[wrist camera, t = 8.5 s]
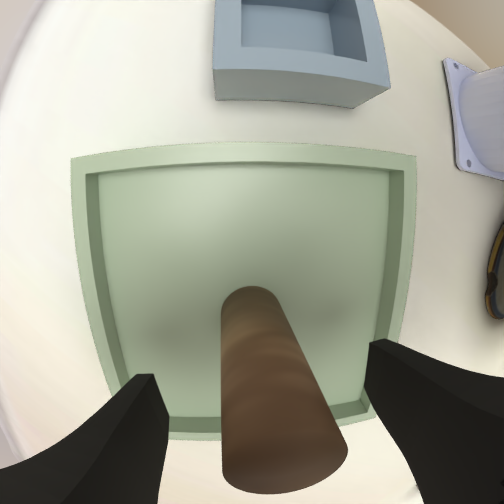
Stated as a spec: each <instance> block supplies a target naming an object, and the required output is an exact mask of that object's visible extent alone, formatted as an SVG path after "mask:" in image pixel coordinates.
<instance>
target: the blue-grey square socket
mask: <svg viewBox="0 0 504 504" xmlns="http://www.w3.org/2000/svg"><path fill="white" fill-rule="evenodd" d="M213 78H214V88H215V98H216V100H273V101H291V102H304V103H315V104H324V105H333V106H340V107H347V108H355V107H357V106H359V105H360V104H362V103H364V102H366V101H368V100H369V99H371V98H373V97H375V96H377V95H379V94H381V93H383V92H384V91H386V90H388V89H390V88H391V85H390V77H389V71H388V65H387V59H386V53H385V48H384V43H383V38H382V33H381V29H380V25H379V21H378V17H377V13H376V9H375V5H374V2H373V0H216V2H215V20H214V43H213Z"/></svg>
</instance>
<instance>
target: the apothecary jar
mask: <svg viewBox="0 0 504 504" xmlns="http://www.w3.org/2000/svg"><path fill="white" fill-rule="evenodd" d="M487 275H488V281H489V286H488V289H487V292H486V294H485V299H486V306H487V310H488V313H489V314H490V315H491V316H492V317H493V318H495V319H503V318H504V223H503V225H502V226H501V228H500V230H499V233H498V235H497V237H496V240H495V243H494V245H493V249H492V252H491V256H490V260H489V264H488V270H487Z"/></svg>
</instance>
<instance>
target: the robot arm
mask: <svg viewBox="0 0 504 504" xmlns="http://www.w3.org/2000/svg"><path fill="white" fill-rule="evenodd" d="M443 62H444V67H445V72H446V77H447V82H448V88H449V93H450V100H451V107H452V114H453V123H454V133H455V147H456V163H457V166H458V168H459V169H460V170H464V171H468V172H472V173H476V174H480V175H484V176H488V177H492V178H496V179H499V180H503V181H504V66H501V67H497V68H494V69H490V70H487V71H484V72H480V73H477V72H475V71H473V70H471V69H470V68H468V67H466V66H464V65H462V64H460V63H458V62H456V61H454V60H452V59H450V58H446V59H444V61H443ZM364 389H365V391H366V394H367V396H368V398H369V400H370V402H371V404H372V407H373V409H374V410H375V412H376V413H377V415H378V417H379V418H380V420H381V421H382V423H383V424H384V426H385V427H386V429H387V430H388V432H389V433H390V435H391V437H392V438H393V440H394V441H395V443H396V444H397V446H398V447H399V449H400V450H401V452H402V454H403V455H404V457H405V459H406V461H407V463H408V465H409V467H410V470H411V472H412V474H413V476H414V478H415V481H416V483H417V486H418V488H419V491H420V494H421V496H422V499H423V502H424V504H504V378H503V377H496V376H490V375H485V374H481V373H476V372H472V371H468V370H465V369H462V368H459V367H456V366H453V365H450V364H447V363H444V362H441V361H439V360H436V359H434V358H431V357H429V356H426V355H424V354H422V353H419V352H417V351H415V350H412V349H410V348H408V347H405V346H403V345H401V344H398V343H396V342H394V341H391V340H388V339H385V338H383V339H380V340H376V341H372V342H369V350H368V358H367V366H366V374H365V381H364ZM169 419H170V416H169V413H168V411H167V408H166V406H165V403H164V401H163V398H162V395H161V393H160V390H159V387H158V385H157V382H156V379H155V376H154V373H147V374H136V375H135V376H134V377H132V378H131V379H130V380H129V381H128V382H127V383H126V384H125V385H124V386H123V387H122V388H121V389H120V390H119V391H118V392H117V393H116V394H115V395H114V396H113V397H112V398H111V399H110V400H109V401H108V402H107V403H106V404H105V405H104V406H103V407H101V408H100V409H99V410H98V411H97V412H96V413H95V414H94V415H93V416H91V417H90V418H89V419H88V420H87V421H86V422H84V423H83V424H82V425H81V426H80V427H79V428H77V429H76V430H75V431H73V432H72V433H71V434H69V435H68V436H67V437H65V438H64V439H62V440H61V441H59V442H58V443H56V444H55V445H53V446H51V447H50V448H48V449H46V450H44V451H42V452H40V453H38V454H37V455H35V456H33V457H31V458H29V459H27V460H24V461H22V462H19V463H17V464H15V465H12V466H9V467H6V468H3V469H0V504H157V502H158V493H159V487H160V482H161V476H162V471H163V466H164V461H165V455H166V450H167V445H168V437H169Z"/></svg>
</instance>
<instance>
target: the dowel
mask: <svg viewBox="0 0 504 504" xmlns="http://www.w3.org/2000/svg"><path fill="white" fill-rule="evenodd" d="M221 441H222V472H223V476H224V478H225V480H226V481H227V482H228V483H229V484H230V485H232V486H233V487H235V488H237V489H240V490H242V491H246V492H250V493H256V494H281V493H288V492H293V491H297V490H301V489H304V488H307V487H309V486H312V485H314V484H316V483H318V482H320V481H322V480H324V479H326V478H327V477H329V476H330V475H331V474H333V473H334V472H335V471H336V470H337V469H338V468H339V467H340V466H341V465H342V464H343V462H344V461H345V459H346V457H347V453H348V447H347V444H346V442H345V440H344V438H343V436H342V433H341V431H340V429H339V427H338V425H337V423H336V421H335V419H334V417H333V414H332V412H331V410H330V408H329V406H328V404H327V402H326V400H325V398H324V395H323V393H322V391H321V389H320V387H319V385H318V383H317V381H316V379H315V376H314V374H313V372H312V370H311V368H310V366H309V364H308V362H307V360H306V358H305V355H304V353H303V351H302V349H301V347H300V345H299V343H298V341H297V339H296V336H295V334H294V332H293V330H292V328H291V326H290V324H289V322H288V320H287V318H286V316H285V313H284V311H283V309H282V307H281V305H280V303H279V301H278V299H277V298H276V296H275V295H274V294H273V293H272V292H270V291H269V290H267V289H265V288H262V287H258V286H246V287H242V288H239V289H237V290H235V291H234V292H232V293H231V294H230V295H229V296H228V297H227V298H226V300H225V301H224V303H223V305H222V309H221Z"/></svg>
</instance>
